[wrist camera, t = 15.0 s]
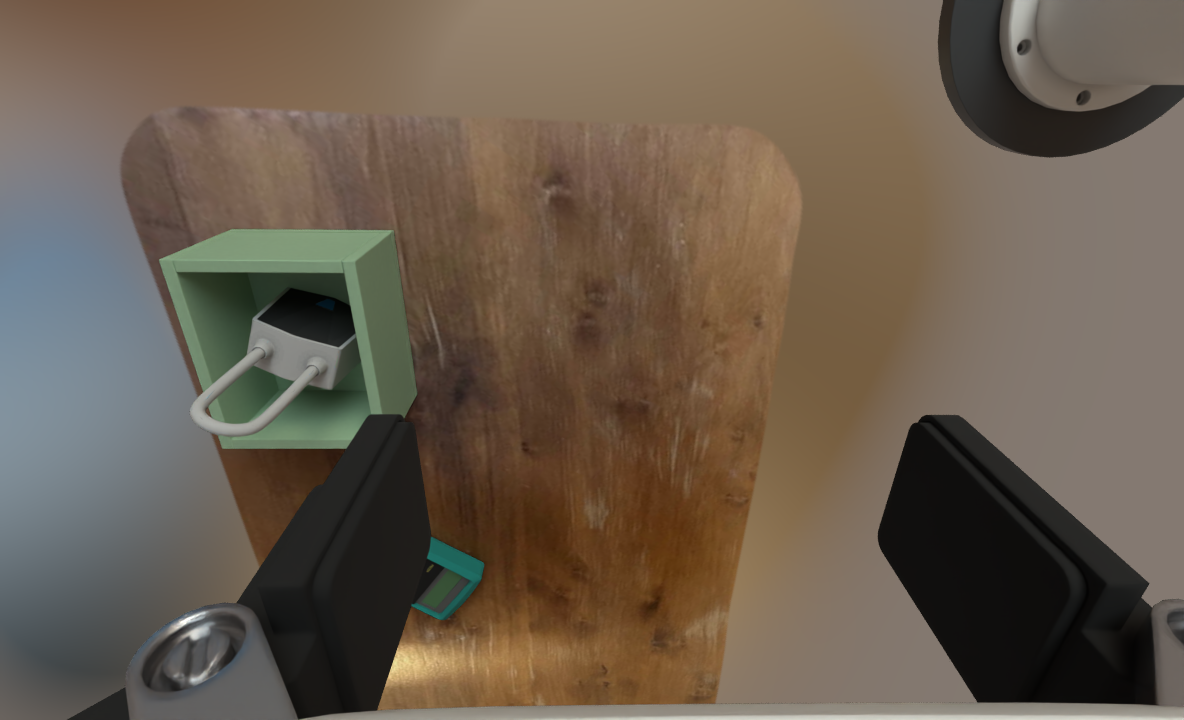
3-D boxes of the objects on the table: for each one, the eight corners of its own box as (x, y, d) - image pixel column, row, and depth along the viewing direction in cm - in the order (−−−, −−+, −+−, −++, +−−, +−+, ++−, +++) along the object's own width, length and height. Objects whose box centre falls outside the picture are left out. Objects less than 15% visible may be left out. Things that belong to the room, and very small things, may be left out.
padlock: (378, 313, 43) (284, 420, 29) (366, 359, 44) (271, 480, 31) (288, 281, 42) (147, 376, 28) (279, 329, 43) (141, 441, 30)
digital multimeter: (348, 488, 51) (335, 510, 48) (489, 560, 55) (484, 584, 52) (314, 538, 54) (300, 561, 51) (450, 603, 58) (444, 628, 55)
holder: (394, 230, 41) (354, 260, 34) (417, 394, 47) (388, 449, 40) (231, 228, 41) (158, 259, 34) (276, 393, 47) (222, 448, 40)
